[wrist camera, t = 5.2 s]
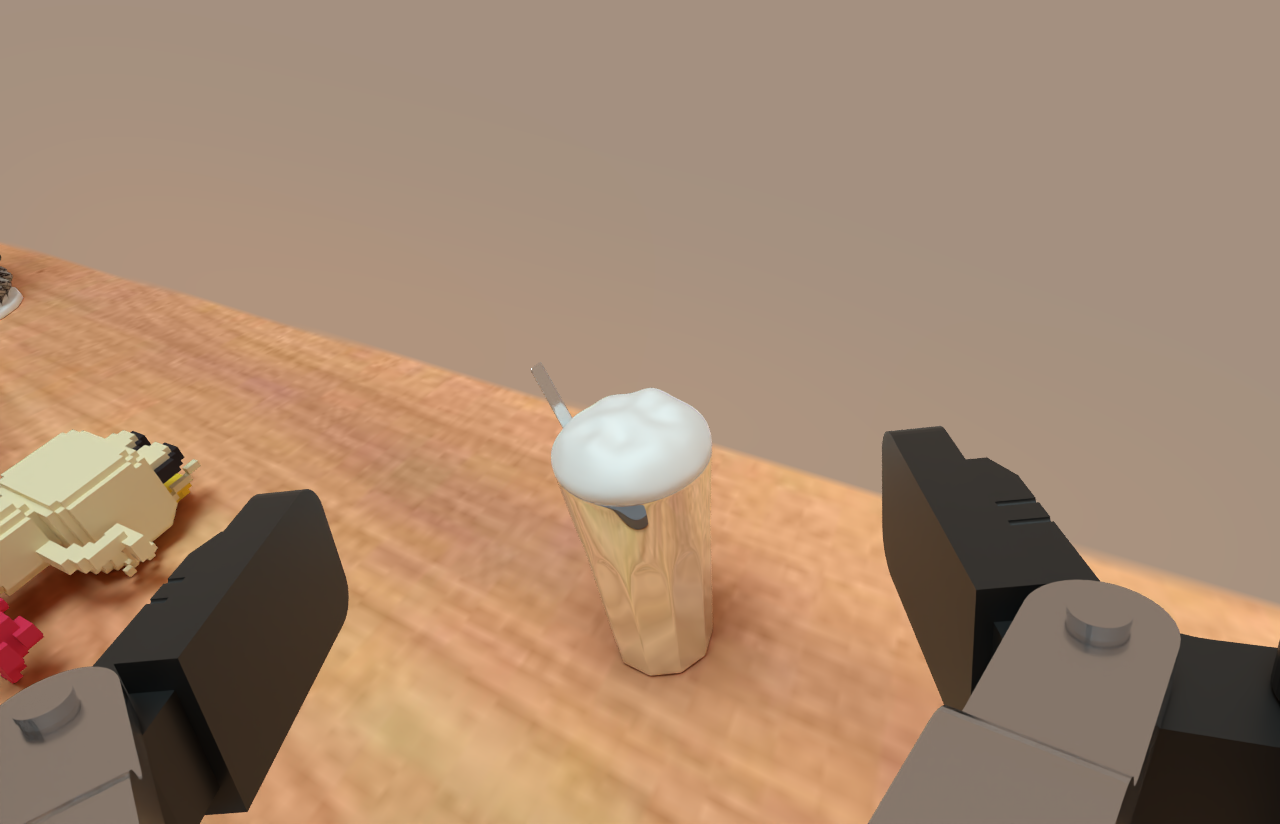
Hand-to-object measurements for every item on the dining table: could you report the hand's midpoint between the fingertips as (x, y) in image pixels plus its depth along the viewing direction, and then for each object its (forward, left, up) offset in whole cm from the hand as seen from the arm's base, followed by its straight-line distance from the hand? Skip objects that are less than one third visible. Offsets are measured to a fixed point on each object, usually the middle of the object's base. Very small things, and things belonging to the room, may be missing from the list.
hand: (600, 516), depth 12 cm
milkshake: (-1, +10, -15) cm, 18 cm away
